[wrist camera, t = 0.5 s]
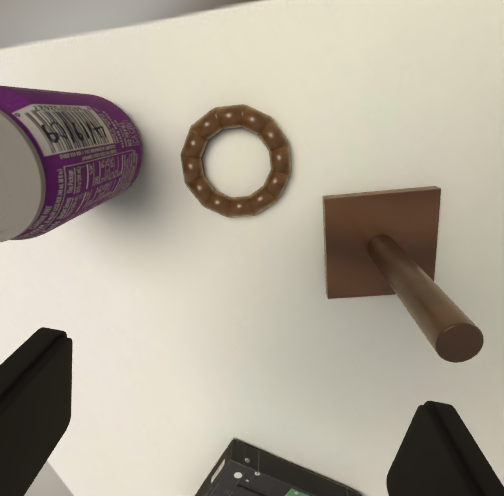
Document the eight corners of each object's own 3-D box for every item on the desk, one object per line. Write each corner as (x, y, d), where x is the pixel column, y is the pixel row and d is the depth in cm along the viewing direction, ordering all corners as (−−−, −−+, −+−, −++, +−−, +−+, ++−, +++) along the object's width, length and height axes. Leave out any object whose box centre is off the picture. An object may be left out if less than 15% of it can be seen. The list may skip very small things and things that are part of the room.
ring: (176, 112, 25) (171, 112, 24) (286, 99, 25) (287, 99, 23) (193, 217, 28) (189, 222, 27) (293, 209, 27) (294, 214, 26)
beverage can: (49, 83, 25) (-132, 60, 14) (150, 108, 25) (55, 104, 14) (46, 184, 27) (-109, 233, 16) (139, 205, 28) (49, 269, 16)
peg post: (322, 195, 27) (365, 265, 15) (435, 186, 26) (578, 249, 14) (326, 293, 30) (364, 419, 17) (428, 286, 29) (542, 412, 17)
